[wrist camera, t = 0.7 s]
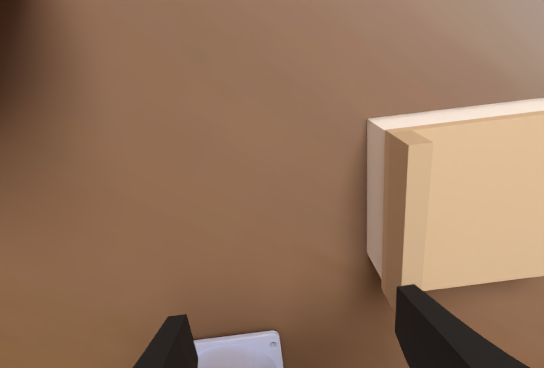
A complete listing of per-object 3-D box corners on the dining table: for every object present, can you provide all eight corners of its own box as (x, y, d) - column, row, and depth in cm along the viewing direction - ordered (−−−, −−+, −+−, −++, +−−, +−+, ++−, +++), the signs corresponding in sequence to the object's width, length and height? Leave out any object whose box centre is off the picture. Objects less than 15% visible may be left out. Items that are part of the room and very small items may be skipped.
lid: (623, 100, 16) (688, 111, 14) (575, 264, 20) (619, 294, 17) (385, 129, 16) (408, 145, 14) (381, 288, 20) (399, 322, 17)
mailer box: (559, 95, 19) (611, 104, 16) (529, 232, 23) (568, 258, 20) (367, 118, 19) (386, 131, 16) (366, 252, 23) (382, 281, 20)
